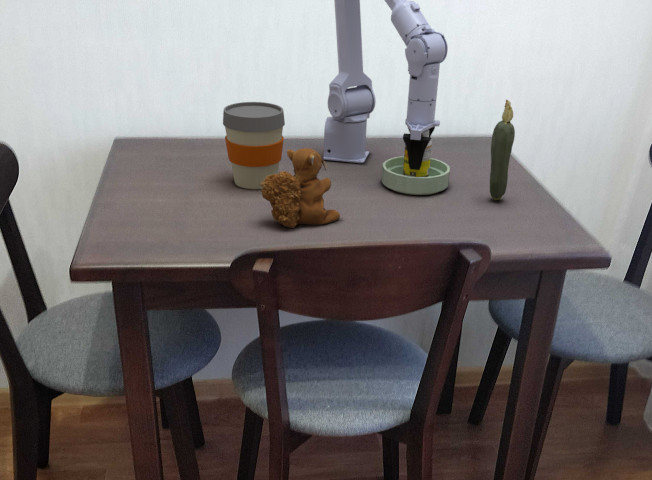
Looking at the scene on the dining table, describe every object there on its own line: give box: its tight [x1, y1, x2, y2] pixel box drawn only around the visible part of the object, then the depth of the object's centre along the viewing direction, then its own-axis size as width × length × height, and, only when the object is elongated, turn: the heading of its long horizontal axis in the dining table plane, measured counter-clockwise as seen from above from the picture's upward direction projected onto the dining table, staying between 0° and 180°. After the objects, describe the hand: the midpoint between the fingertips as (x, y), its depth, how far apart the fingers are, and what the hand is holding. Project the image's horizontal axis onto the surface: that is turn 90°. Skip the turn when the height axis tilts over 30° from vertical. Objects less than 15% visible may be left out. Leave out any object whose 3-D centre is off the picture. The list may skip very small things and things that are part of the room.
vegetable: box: [489, 99, 516, 201], centre depth 153 cm, size 4×4×20 cm
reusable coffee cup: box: [222, 101, 286, 190], centre depth 159 cm, size 13×13×15 cm
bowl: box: [381, 155, 451, 196], centre depth 164 cm, size 14×14×4 cm
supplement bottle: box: [403, 130, 433, 177], centre depth 161 cm, size 6×6×10 cm
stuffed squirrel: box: [259, 147, 341, 229], centre depth 143 cm, size 10×14×13 cm
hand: (416, 164), depth 162 cm, fingers closed on supplement bottle, 5 cm apart
